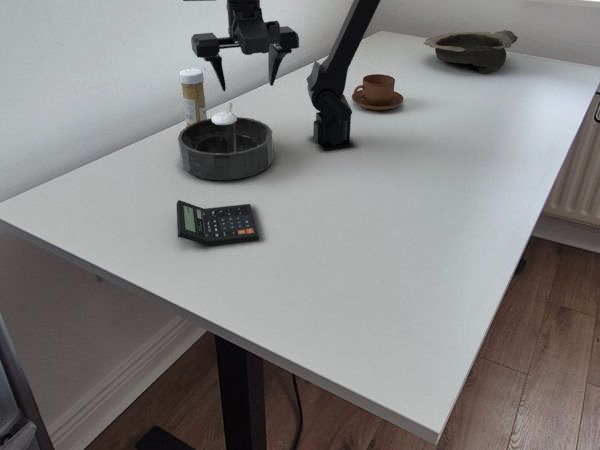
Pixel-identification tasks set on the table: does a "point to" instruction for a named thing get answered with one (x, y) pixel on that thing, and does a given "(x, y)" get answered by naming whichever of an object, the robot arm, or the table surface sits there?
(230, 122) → the milkshake
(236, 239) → the calculator
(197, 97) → the sprinkles bottle
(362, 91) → the cup and saucer
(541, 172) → the table surface
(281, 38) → the robot arm
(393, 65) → the table surface
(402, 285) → the table surface
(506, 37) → the stone bowl
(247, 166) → the dark round bowl
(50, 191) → the table surface
